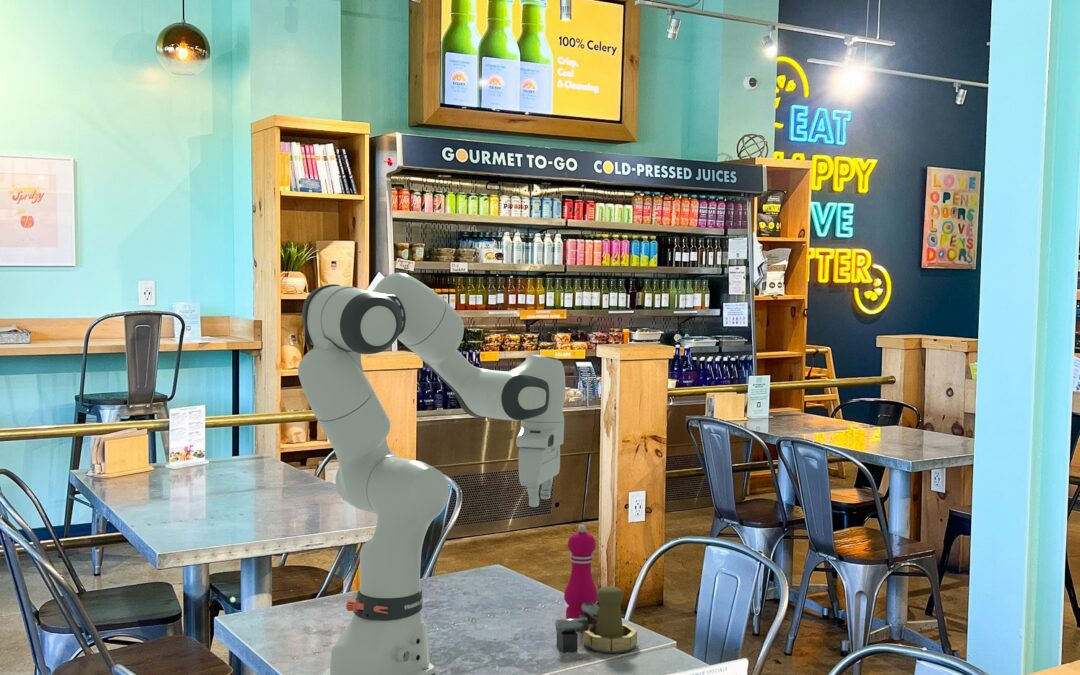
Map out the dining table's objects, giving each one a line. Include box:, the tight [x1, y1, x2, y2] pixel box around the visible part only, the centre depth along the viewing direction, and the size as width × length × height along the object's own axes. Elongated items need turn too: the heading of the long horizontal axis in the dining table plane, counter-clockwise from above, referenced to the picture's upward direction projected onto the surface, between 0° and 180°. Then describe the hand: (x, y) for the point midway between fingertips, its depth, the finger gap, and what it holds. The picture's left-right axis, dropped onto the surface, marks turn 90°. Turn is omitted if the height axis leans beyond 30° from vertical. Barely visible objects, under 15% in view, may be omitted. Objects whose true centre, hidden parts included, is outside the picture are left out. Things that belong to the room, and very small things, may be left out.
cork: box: [595, 586, 624, 637], centre depth 208 cm, size 6×6×11 cm
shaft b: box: [579, 601, 599, 634], centre depth 215 cm, size 6×4×6 cm, turn 22°
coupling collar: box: [582, 623, 638, 655], centre depth 208 cm, size 10×10×3 cm
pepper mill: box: [563, 524, 598, 619], centre depth 226 cm, size 7×7×20 cm
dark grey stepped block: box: [555, 617, 589, 654], centre depth 206 cm, size 6×4×6 cm, turn 107°
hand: (539, 502), depth 214 cm, fingers open, 8 cm apart
